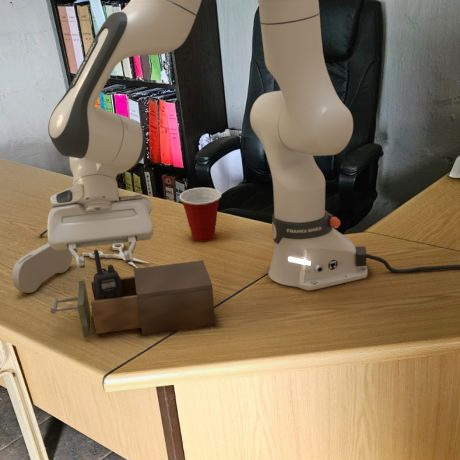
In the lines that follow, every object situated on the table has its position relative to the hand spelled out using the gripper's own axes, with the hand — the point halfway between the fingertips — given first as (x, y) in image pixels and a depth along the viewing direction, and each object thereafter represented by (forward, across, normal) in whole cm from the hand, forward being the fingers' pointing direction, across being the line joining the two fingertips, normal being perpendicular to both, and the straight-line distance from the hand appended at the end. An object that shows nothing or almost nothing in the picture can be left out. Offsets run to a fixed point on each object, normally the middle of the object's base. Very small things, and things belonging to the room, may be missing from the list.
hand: (105, 264), depth 123 cm
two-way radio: (+8, 0, -9) cm, 12 cm away
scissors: (-16, -2, -35) cm, 38 cm away
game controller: (-10, +16, -29) cm, 35 cm away
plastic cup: (-21, -24, -41) cm, 52 cm away
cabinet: (+9, -12, -10) cm, 18 cm away
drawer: (+9, +2, -9) cm, 13 cm away
